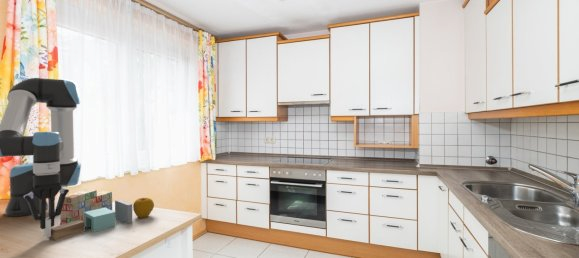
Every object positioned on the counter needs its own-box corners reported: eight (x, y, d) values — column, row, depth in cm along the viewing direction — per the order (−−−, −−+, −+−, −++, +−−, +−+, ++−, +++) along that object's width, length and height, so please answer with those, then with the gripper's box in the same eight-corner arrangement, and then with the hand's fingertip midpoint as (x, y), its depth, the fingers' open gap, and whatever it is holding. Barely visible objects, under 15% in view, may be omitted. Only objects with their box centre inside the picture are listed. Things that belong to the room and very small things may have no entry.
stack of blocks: (101, 209, 140) (101, 185, 140) (112, 210, 139) (112, 185, 139) (60, 224, 119) (59, 196, 119) (72, 225, 118) (72, 197, 118)
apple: (157, 213, 134) (157, 195, 134) (147, 220, 126) (147, 200, 125) (139, 213, 134) (139, 195, 134) (129, 219, 126) (129, 200, 126)
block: (83, 226, 117) (83, 212, 117) (105, 220, 124) (105, 207, 124) (93, 231, 112) (93, 217, 112) (115, 225, 118) (115, 211, 118)
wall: (115, 217, 128) (115, 200, 128) (119, 216, 130) (119, 199, 130) (127, 223, 121) (127, 205, 121) (132, 222, 123) (132, 204, 123)
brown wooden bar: (49, 239, 105) (49, 228, 105) (78, 229, 114) (78, 220, 114) (55, 240, 103) (55, 230, 103) (84, 231, 112) (84, 221, 112)
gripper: (25, 177, 96) (26, 245, 96) (71, 172, 106) (72, 233, 107) (20, 174, 100) (21, 239, 101) (65, 169, 111) (65, 228, 111)
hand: (47, 236), depth 104 cm, fingers closed
